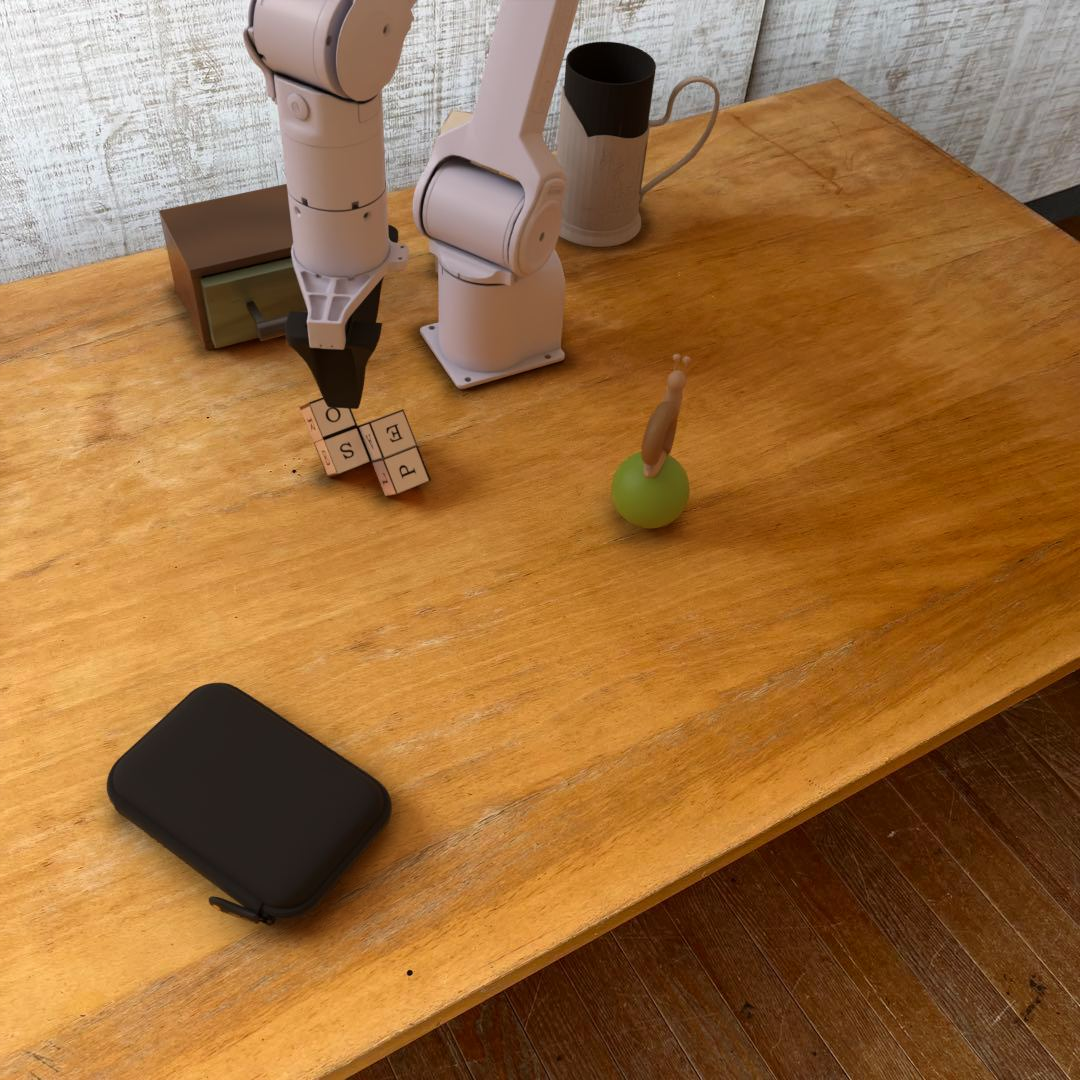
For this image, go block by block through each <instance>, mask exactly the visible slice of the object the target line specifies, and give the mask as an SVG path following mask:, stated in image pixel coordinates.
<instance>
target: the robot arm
mask: <svg viewBox="0 0 1080 1080" xmlns="http://www.w3.org/2000/svg"><path fill="white" fill-rule="evenodd" d="M418 1H419V0H249V5H248V9H247V26H246V28H244V29H243V30H242V38H243V42H244V46H245V49H246V51H247V53H248V55H249V57H250V59H251V60H252V61H253V63H254V64H255V65H256V66H257V67H258V68H259V69H260V70H261V71H262V74H263V76H264V80H265V88H266V95H267V97H269V98H271V101H272V102H274V104H275V105H276V106H277V107H276V108H277V115H278V124H279V131H280V141H281V147H282V148H281V149H282V157H283V165H284V174H285V180H286V182H285V184H287V191H288V200H289V209H290V218H291V226H292V235H293V245H292V249H291V255H292V263H293V267H294V270H295V273H296V276H297V279H298V282H299V285H300V288H301V291H302V294H303V297H304V300H305V304H306V307H307V310H308V312H296V311H289V314H288V317H287V321H286V325H285V335H284V336H285V339H286V342H287V344H288V346H289V347H290V348H292V350H293V351H294V352H296V353H297V354H298V355H299V357H301V359H302V360H303V361H304V363H305V364H306V365H307V368H309V370H310V372H311V374H312V376H313V378H314V380H315V383H316V385H317V388H318V389H319V393H320V395H321V396H322V397H321V398H323V399H324V401H325V403H326V405H327V406H328V407H332V408H349V409H351V410H357V409H359V408H360V405H361V401H362V398H363V393H364V387H365V380H366V379H365V378H366V370H367V364H368V362H369V360H370V358H371V356H372V355H373V354H374V352H375V351H376V349H377V346H378V344H379V342H380V339H381V334H382V328H383V322H377V320H378V314H379V310H380V309H379V308H380V301H381V293H382V287H383V281H384V279H385V275H386V274H387V273H389V272H403V271H405V270H406V269H407V267H408V265H409V258H410V249H409V246H408V245H407V244H406V243H402V242H399V238H400V236H399V230H398V228H396V227H395V226H393V225H392V224H389V217H388V215H389V214H388V213H389V212H388V196H387V192H388V191H387V174H386V173H387V172H386V171H387V170H386V153H385V152H386V151H385V150H386V149H385V131H384V130H385V129H384V105H383V89H384V88H385V87H386V86H387V84H389V83H390V82H391V80H393V77H394V76H395V73H396V71H397V69H398V65H399V63H400V60H401V58H402V57H401V56H402V52H403V47H404V44H405V40H406V36H407V35H408V33H409V31H410V30H411V29H412V22H413V21H414V13H413V10H412V9H413V8H414V7H415V5H416V3H417V2H418ZM579 3H580V0H501V2H500V6H499V10H498V15H497V17H496V22H495V26H494V30H493V34H492V37H491V42H490V46H489V50H488V53H487V57H486V60H485V61H486V62H485V66H484V69H483V73H482V77H481V82H480V85H479V89H478V94H477V97H476V100H475V105H474V109H473V112H472V113H473V116H472V119H470V120H469V121H467V122H465V123H463V124H461V125H459V126H457V127H455V128H452V129H450V130H448V131H446V132H444V133H442V134H441V135H439V136H438V137H437V136H436V137H437V138H436V137H435V139H436V141H435V140H434V141H435V145H434V148H433V147H432V151H431V154H430V157H429V160H428V162H427V164H426V167H425V169H424V170H423V172H422V173H421V174H420V177H419V179H418V180H417V183H416V186H415V189H414V193H413V198H412V206H411V207H412V217H413V223H414V226H415V228H416V230H417V232H418V233H419V234H420V235H421V236H422V237H425V238H427V239H429V253H430V254H432V255H434V256H435V255H436V256H437V257H438V273H437V275H438V276H437V277H438V278H437V281H438V282H437V283H438V284H437V285H438V286H437V287H438V288H437V289H438V291H437V292H438V295H437V296H438V322H434V323H431V324H427V325H422V326H421V327H420V328H419V334H420V335H421V337H422V339H423V340H424V342H425V343H426V344H427V346H428V347H429V349H430V350H431V352H432V353H433V354H434V356H435V357H436V359H437V360H438V362H439V363H440V365H441V366H442V368H443V369H444V371H445V372H446V373H447V375H448V376H449V378H450V380H451V381H452V382H453V384H454V385H455V386H456V388H458V389H459V390H465V389H468V388H472V387H475V386H479V385H481V384H486V383H490V382H492V381H496V380H500V379H504V378H507V377H511V376H514V375H517V374H521V373H523V372H528V371H531V370H534V369H538V368H542V367H544V366H548V365H552V364H555V363H558V362H561V361H563V360H565V357H566V353H565V352H564V350H563V349H562V335H563V325H564V323H563V322H564V316H565V315H564V313H565V302H566V278H565V272H564V268H563V264H562V262H561V258H560V256H559V254H558V252H557V250H556V249H555V248H556V246H557V244H558V241H559V237H560V236H559V234H560V230H561V225H562V205H563V199H564V194H565V190H566V183H567V176H566V174H565V172H564V170H563V169H562V167H561V166H560V164H559V163H558V161H557V160H556V157H555V155H554V154H553V152H552V151H551V149H550V148H549V146H548V145H547V143H546V141H545V139H544V137H543V133H544V129H545V125H546V122H547V119H548V115H549V111H550V107H551V104H552V100H553V97H554V93H555V89H556V86H557V83H558V79H559V76H560V71H561V69H562V65H563V61H564V58H565V54H566V51H567V47H568V43H569V39H570V36H571V33H572V29H573V25H574V22H575V18H576V15H577V11H578V7H579ZM471 161H474V162H476V163H479V164H481V165H484V166H487V167H489V168H492V169H494V170H497V171H499V174H498V173H496V172H493V171H491V170H488V169H485V168H483V167H480V166H478V165H475V164H473V163H471ZM501 173H503V174H505V175H503V174H501ZM506 175H508V176H510V177H508V176H506ZM511 177H512V178H511Z"/></svg>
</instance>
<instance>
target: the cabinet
mask: <svg viewBox="0 0 1080 1080" xmlns="http://www.w3.org/2000/svg"><path fill="white" fill-rule="evenodd" d="M158 214H159V218H160V224H161V227H162V232H163V233H162V234H163V237H164V241H165V247H166V251H167V257H168V261H169V266H170V269H171V270H170V271H171V275H172V279H173V280H172V281H173V284H174V289H175V290H174V291H175V292H176V294H177V296H178V298H179V300H180V302H181V304H182V306H183V307H184V310H185V312H186V314H187V316H188V317H189V320H190V322H191V324H192V326H193V328H194V330H195V333H196V334H197V336H198V338H199V340H200V342H201V344H202V346H203V348H204V350H206V351H208V350H212V349H216V348H215V346H214V344H213V342H212V340H211V335H210V330H209V324H208V319H207V314H206V309H205V303H204V298H203V293H202V288H201V282H200V279H202V276H207V275H211V274H215V273H220V272H224V271H228V270H232V269H237V268H241V267H245V266H250V265H254V264H258V263H263V262H267V261H271V260H275V259H280V258H284V257H288V256H292V255H291V249H292V245H293V235H292V226H291V218H290V209H289V200H288V191H287V183H282V184H279V185H273V186H269V187H263V188H259V189H254V190H250V191H246V192H241V193H236V194H231V195H227V196H221V197H217V198H216V197H215V198H213V199H208V200H202V201H197V202H194V203H188V204H183V205H179V206H174V207H169V208H165V209H160V210H158Z"/></svg>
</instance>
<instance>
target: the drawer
mask: <svg viewBox="0 0 1080 1080" xmlns="http://www.w3.org/2000/svg"><path fill="white" fill-rule="evenodd" d="M200 282H201V288H202V293H203V298H204V303H205V309H206V314H207V319H208V324H209V330H210V335H211V340H212V342H213V344H214V346H215V348H214V349H219V348H223V347H227V346H230V345H235V344H238V343H239V344H240V343H243V342H247V341H250V340H255V339H258V340H259V341H260V342H262V341H263V342H264V341H267V340H271V339H275V338H279V337H282V336H286V335H285V325H286V321H287V317H288V314H289V311H296V312H308V310H307V307H306V304H305V300H304V297H303V294H302V291H301V288H300V285H299V282H298V279H297V276H296V273H295V270H294V267H293V263H292V256H288V257H284V258H280V259H275V260H271V261H267V262H263V263H258V264H254V265H250V266H245V267H241V268H237V269H232V270H228V271H224V272H220V273H215V274H211V275H207V276H202V279H200Z"/></svg>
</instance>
